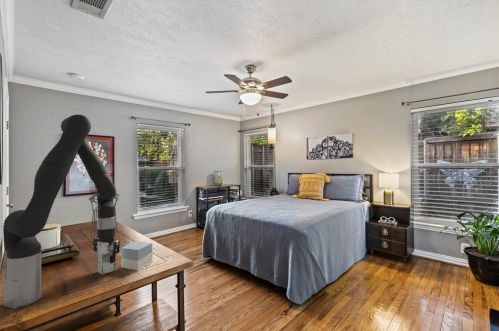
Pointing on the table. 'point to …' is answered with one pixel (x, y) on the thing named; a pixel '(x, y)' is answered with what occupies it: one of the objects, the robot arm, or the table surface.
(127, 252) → the tower top block
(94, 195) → the geometric lantern
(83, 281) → the table surface
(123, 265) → the tower base block
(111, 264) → the syrup box
